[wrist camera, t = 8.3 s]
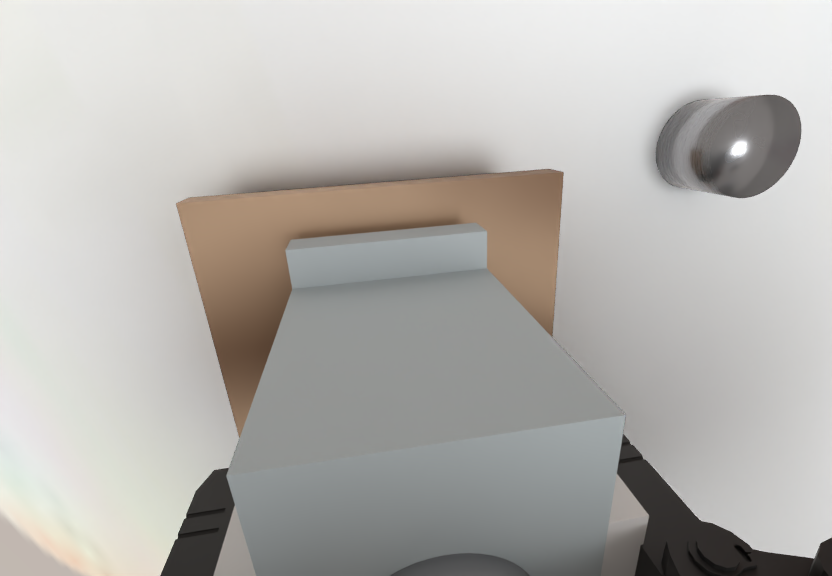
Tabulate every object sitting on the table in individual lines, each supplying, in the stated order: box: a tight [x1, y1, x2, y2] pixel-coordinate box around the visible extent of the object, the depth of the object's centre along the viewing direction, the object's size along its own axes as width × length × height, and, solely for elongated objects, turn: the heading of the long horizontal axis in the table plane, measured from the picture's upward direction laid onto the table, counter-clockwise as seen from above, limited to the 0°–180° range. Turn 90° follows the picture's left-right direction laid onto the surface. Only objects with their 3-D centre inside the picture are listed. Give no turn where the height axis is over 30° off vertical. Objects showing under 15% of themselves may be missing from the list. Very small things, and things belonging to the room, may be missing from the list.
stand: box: [176, 169, 564, 438], centre depth 16 cm, size 11×11×5 cm
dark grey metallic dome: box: [656, 95, 801, 198], centre depth 17 cm, size 4×4×3 cm
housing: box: [226, 223, 626, 576], centre depth 9 cm, size 9×5×8 cm, turn 3°
